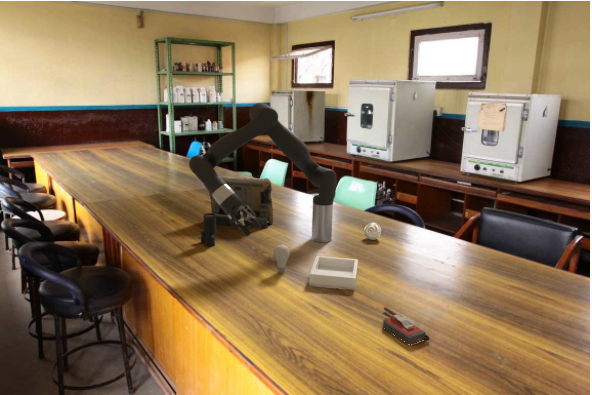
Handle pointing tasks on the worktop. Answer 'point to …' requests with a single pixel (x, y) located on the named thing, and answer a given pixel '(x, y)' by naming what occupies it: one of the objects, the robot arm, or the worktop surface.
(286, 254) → the lightbulb
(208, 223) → the scope
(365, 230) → the white textured ball
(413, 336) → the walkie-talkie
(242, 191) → the tablet
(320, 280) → the tray
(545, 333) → the worktop surface
